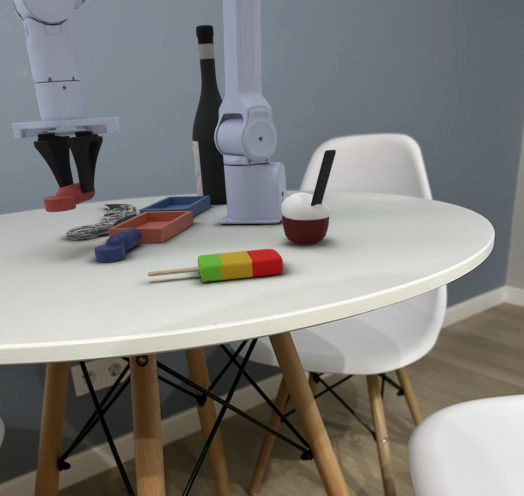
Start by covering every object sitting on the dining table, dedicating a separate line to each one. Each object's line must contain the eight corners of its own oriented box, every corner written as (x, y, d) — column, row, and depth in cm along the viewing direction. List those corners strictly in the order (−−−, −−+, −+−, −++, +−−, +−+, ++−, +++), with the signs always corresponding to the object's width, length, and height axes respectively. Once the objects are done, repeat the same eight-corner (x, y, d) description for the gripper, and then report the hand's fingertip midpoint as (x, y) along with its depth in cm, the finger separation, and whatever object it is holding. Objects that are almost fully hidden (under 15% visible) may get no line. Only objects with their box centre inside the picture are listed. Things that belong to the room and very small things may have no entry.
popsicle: (285, 274, 64) (284, 258, 64) (148, 289, 62) (146, 272, 61) (276, 262, 69) (275, 246, 69) (149, 275, 67) (146, 259, 66)
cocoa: (277, 237, 81) (273, 147, 76) (321, 233, 82) (319, 144, 77) (291, 254, 72) (288, 153, 68) (340, 249, 73) (340, 149, 68)
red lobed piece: (79, 198, 83) (76, 180, 82) (103, 198, 82) (100, 179, 81) (39, 212, 74) (35, 191, 73) (66, 212, 73) (62, 190, 72)
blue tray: (210, 206, 108) (209, 195, 107) (186, 221, 96) (184, 209, 95) (169, 207, 110) (168, 196, 109) (140, 221, 98) (138, 209, 97)
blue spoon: (125, 243, 83) (122, 225, 82) (149, 243, 82) (147, 225, 81) (90, 262, 74) (87, 242, 73) (117, 262, 73) (114, 242, 72)
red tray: (193, 223, 94) (192, 210, 93) (162, 242, 82) (160, 228, 82) (147, 223, 96) (145, 211, 95) (110, 242, 84) (107, 229, 84)
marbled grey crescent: (100, 201, 113) (151, 195, 112) (102, 209, 113) (153, 203, 113) (52, 235, 87) (118, 227, 86) (55, 245, 87) (120, 238, 87)
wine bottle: (192, 205, 110) (173, 25, 98) (207, 198, 117) (191, 29, 105) (232, 205, 108) (218, 21, 96) (244, 197, 115) (233, 25, 103)
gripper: (-12, 86, 72) (13, 198, 77) (93, 78, 68) (112, 195, 74) (22, 86, 78) (43, 189, 83) (120, 78, 75) (136, 187, 80)
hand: (77, 192), depth 79 cm, fingers closed on red lobed piece, 2 cm apart
